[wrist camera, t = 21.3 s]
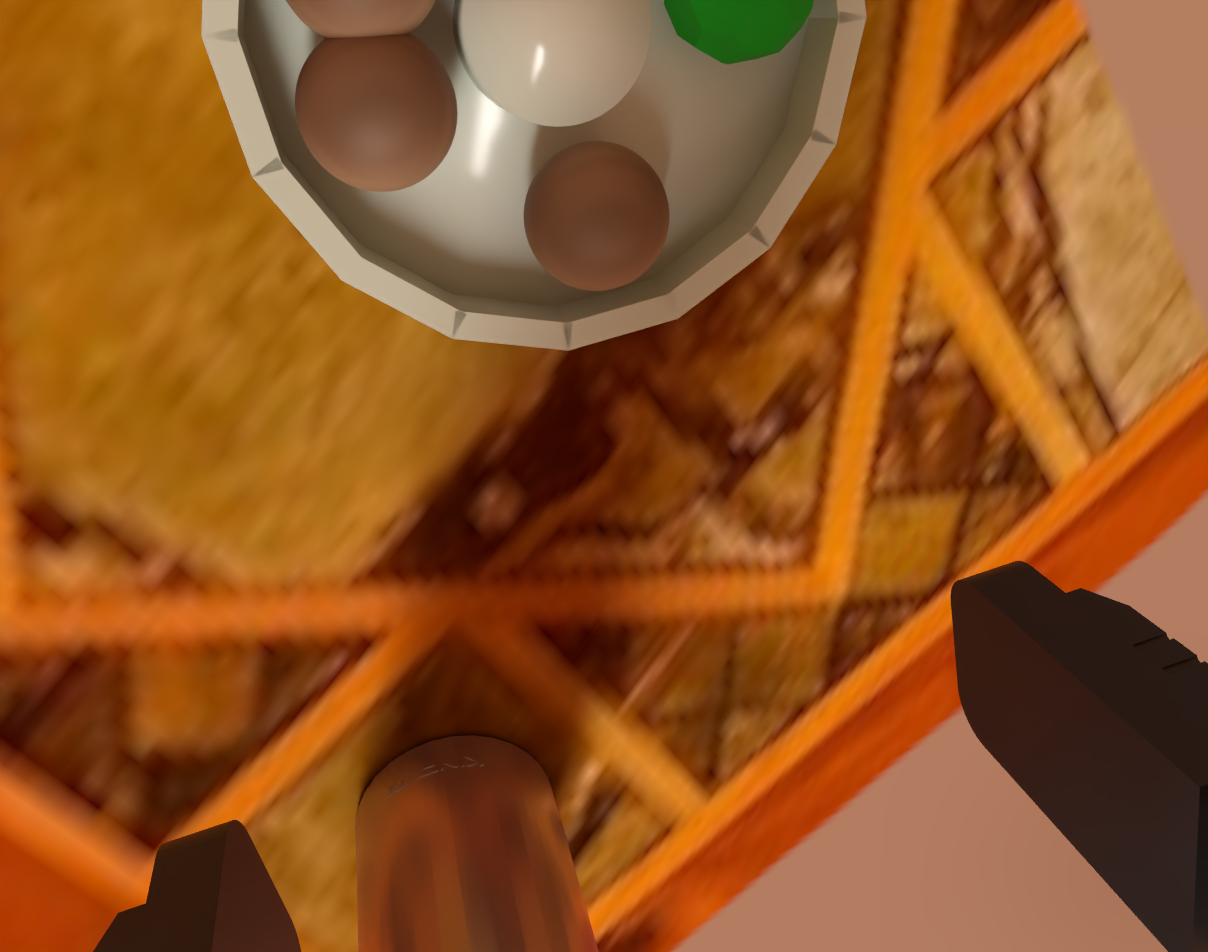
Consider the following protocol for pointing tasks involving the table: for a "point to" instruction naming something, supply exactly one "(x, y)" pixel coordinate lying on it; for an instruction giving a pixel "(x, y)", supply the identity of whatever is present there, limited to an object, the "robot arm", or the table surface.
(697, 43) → the polyhedron
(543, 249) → the walnut bead
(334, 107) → the joined brown beads
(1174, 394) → the table surface
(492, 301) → the tray
